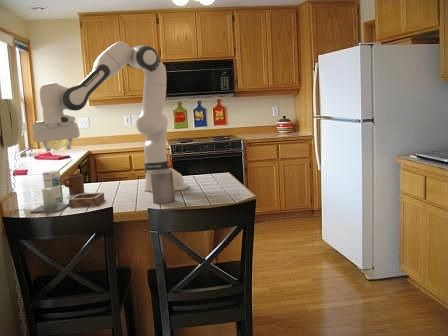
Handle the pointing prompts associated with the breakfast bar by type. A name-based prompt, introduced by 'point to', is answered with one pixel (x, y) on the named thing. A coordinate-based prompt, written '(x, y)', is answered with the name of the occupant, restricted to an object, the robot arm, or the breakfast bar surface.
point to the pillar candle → (162, 186)
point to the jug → (49, 198)
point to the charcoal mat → (57, 209)
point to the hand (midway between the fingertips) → (58, 150)
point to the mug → (74, 183)
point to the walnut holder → (86, 199)
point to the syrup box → (53, 183)
